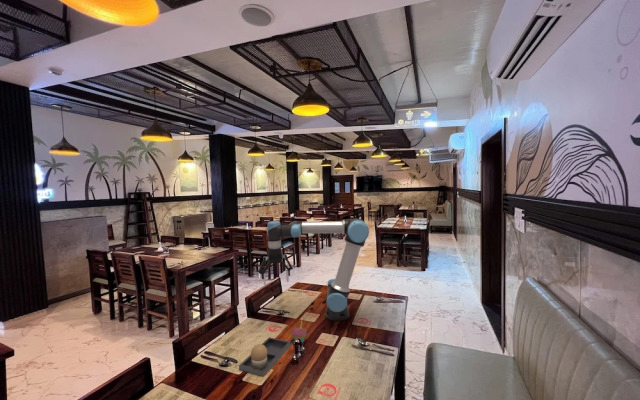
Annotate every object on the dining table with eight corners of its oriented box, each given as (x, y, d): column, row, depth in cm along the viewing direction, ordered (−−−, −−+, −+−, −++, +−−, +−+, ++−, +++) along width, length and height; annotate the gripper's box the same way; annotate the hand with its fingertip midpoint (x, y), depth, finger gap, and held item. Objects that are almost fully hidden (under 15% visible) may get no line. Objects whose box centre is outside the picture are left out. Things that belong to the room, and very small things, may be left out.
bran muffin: (271, 361, 130) (270, 342, 130) (261, 371, 123) (261, 351, 123) (257, 357, 133) (256, 339, 133) (247, 367, 126) (247, 348, 126)
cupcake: (309, 338, 151) (308, 317, 151) (303, 347, 143) (302, 324, 143) (295, 336, 154) (294, 314, 153) (288, 344, 146) (287, 322, 145)
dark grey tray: (290, 347, 143) (290, 341, 143) (263, 378, 120) (263, 372, 120) (269, 342, 148) (269, 337, 148) (239, 372, 125) (238, 365, 125)
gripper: (294, 244, 171) (295, 278, 172) (252, 248, 164) (254, 283, 165) (296, 246, 164) (298, 281, 165) (253, 251, 157) (255, 287, 158)
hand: (276, 282), depth 165 cm, fingers open, 13 cm apart
